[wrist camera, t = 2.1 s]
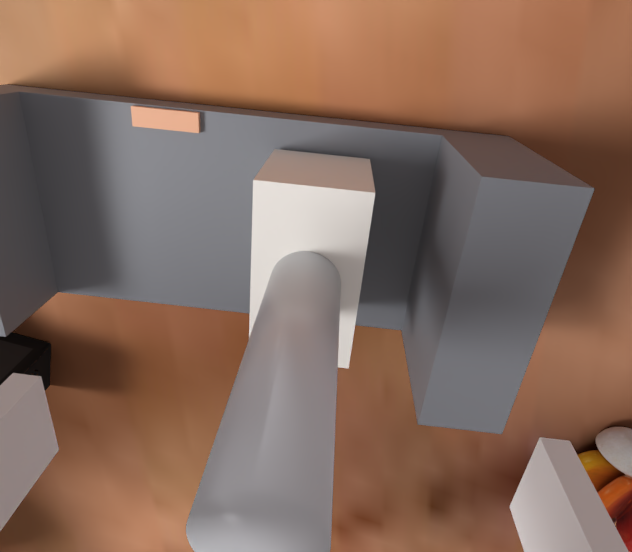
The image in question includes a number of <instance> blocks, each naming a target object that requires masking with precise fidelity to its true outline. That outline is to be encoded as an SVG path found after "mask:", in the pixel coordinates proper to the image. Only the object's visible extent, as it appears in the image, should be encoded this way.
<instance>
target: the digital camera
mask: <svg viewBox="0 0 632 552" xmlns="http://www.w3.org/2000/svg"><path fill="white" fill-rule="evenodd" d="M50 361H51V344H50V343H48V342H44V341H41V340H37V339H34V338H30V337H26V336H23V335H19V334H15V333H12V332H11V333H10V334H9V335H8V336H6V337H3V336H0V385H1V384H2V383H3V382H4V381H5V380H6V379H7V378H8V377H9V376H10V375H11V374H12V373H18V374H26V375H31V374H32V373H34V374H33V375H34V376H41V377H42V381H43V386H44V390H46V389H47V388H48V387H49V385H50ZM33 363H34V364H33ZM32 364H33V365H32ZM28 368H29V369H28ZM27 369H28V370H27ZM26 370H27V371H26ZM34 370H36V371H34ZM25 371H26V372H25ZM37 374H38V375H37Z"/></svg>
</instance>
